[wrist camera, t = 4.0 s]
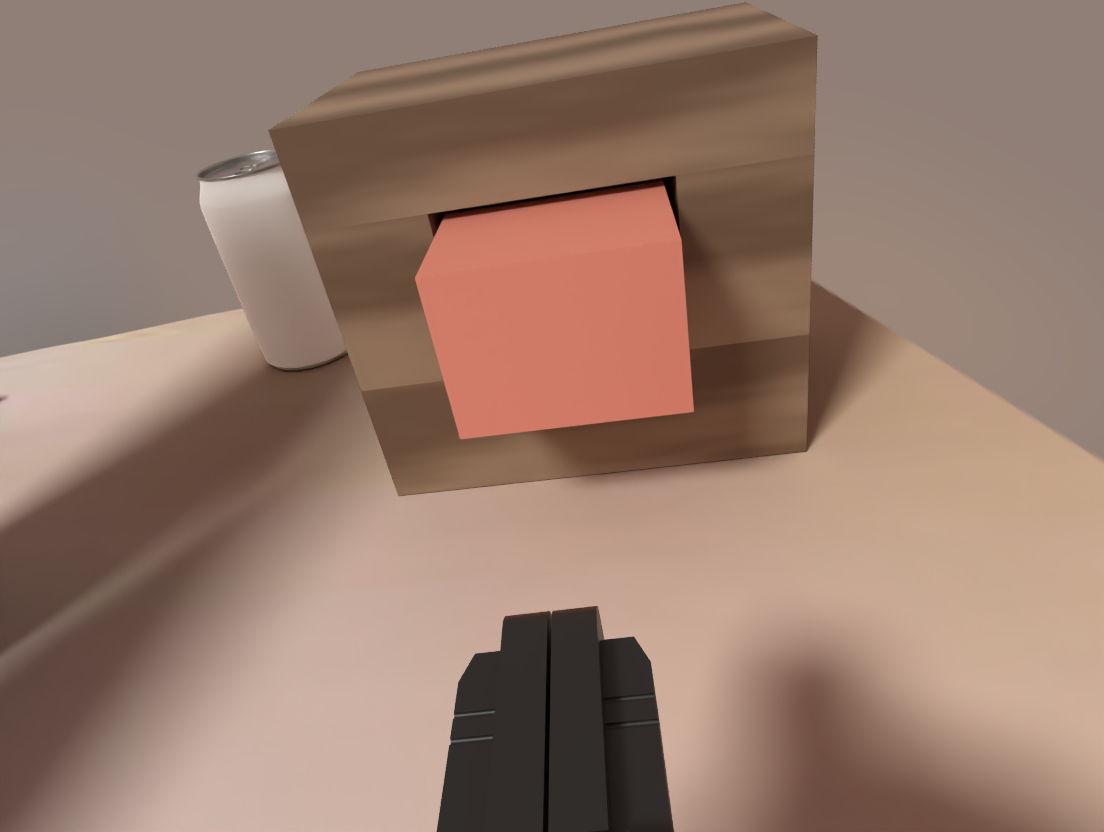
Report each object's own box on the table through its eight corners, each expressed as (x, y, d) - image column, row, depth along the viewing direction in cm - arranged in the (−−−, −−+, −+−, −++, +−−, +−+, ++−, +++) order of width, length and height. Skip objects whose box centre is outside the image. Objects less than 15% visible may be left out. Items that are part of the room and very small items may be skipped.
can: (367, 317, 52) (308, 139, 45) (362, 359, 46) (294, 164, 40) (274, 337, 51) (202, 161, 45) (258, 382, 46) (173, 189, 39)
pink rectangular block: (693, 412, 25) (681, 239, 22) (460, 439, 26) (414, 278, 22) (675, 330, 30) (662, 180, 27) (480, 355, 31) (445, 214, 27)
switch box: (806, 451, 32) (817, 35, 23) (398, 495, 34) (268, 130, 25) (752, 324, 42) (746, 2, 33) (440, 365, 44) (358, 72, 35)
